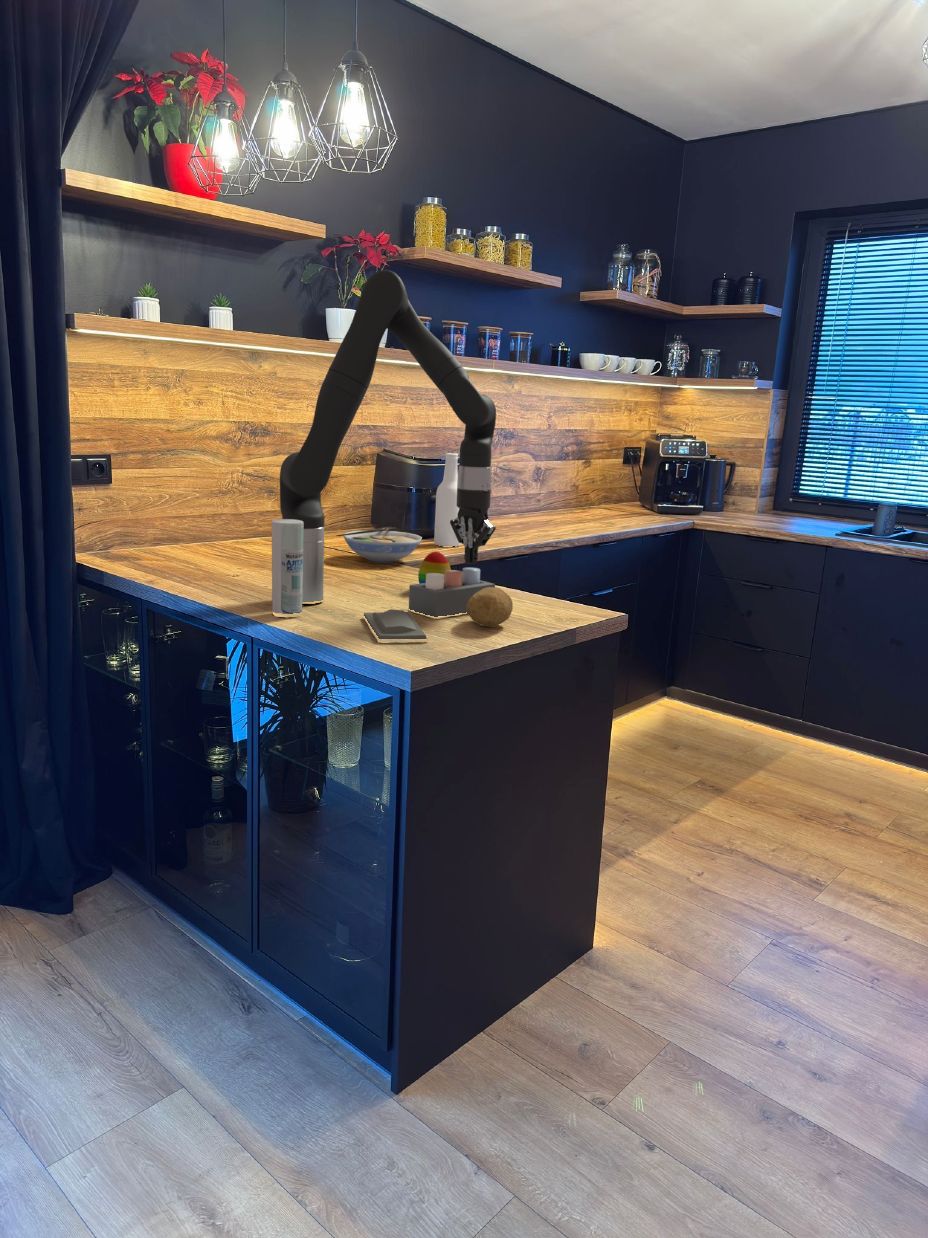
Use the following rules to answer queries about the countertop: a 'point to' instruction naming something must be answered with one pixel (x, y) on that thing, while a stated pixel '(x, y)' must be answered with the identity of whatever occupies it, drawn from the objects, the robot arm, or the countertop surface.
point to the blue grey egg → (471, 576)
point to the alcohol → (447, 504)
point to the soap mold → (394, 625)
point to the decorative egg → (433, 565)
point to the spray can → (287, 565)
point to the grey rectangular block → (443, 598)
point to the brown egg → (453, 578)
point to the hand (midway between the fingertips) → (470, 563)
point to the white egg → (435, 581)
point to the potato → (490, 606)
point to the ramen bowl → (382, 544)
